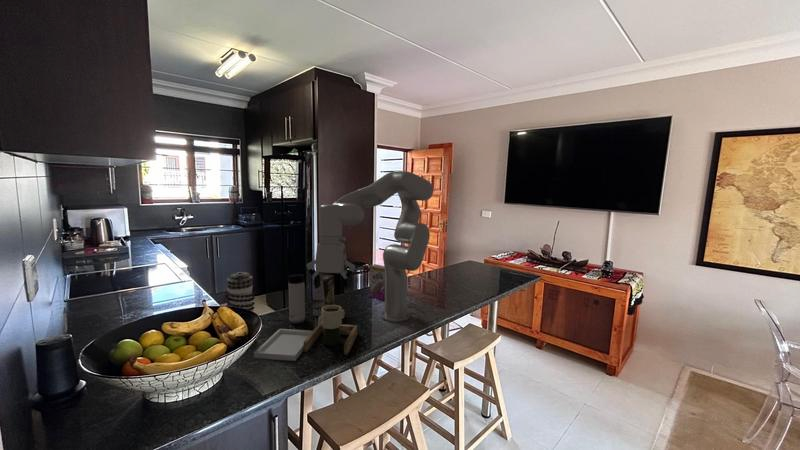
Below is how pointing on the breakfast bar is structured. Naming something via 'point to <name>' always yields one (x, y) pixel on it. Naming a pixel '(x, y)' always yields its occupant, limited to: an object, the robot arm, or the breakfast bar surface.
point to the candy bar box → (377, 282)
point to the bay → (344, 330)
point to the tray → (283, 345)
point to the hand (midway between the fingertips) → (331, 288)
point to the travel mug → (296, 298)
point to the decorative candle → (240, 291)
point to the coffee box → (323, 294)
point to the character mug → (331, 323)
